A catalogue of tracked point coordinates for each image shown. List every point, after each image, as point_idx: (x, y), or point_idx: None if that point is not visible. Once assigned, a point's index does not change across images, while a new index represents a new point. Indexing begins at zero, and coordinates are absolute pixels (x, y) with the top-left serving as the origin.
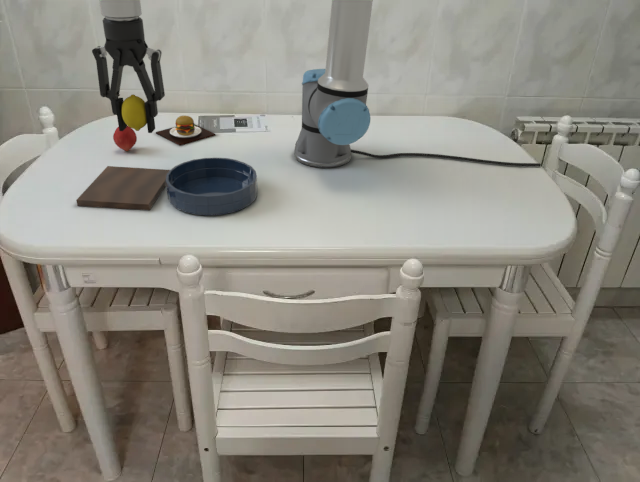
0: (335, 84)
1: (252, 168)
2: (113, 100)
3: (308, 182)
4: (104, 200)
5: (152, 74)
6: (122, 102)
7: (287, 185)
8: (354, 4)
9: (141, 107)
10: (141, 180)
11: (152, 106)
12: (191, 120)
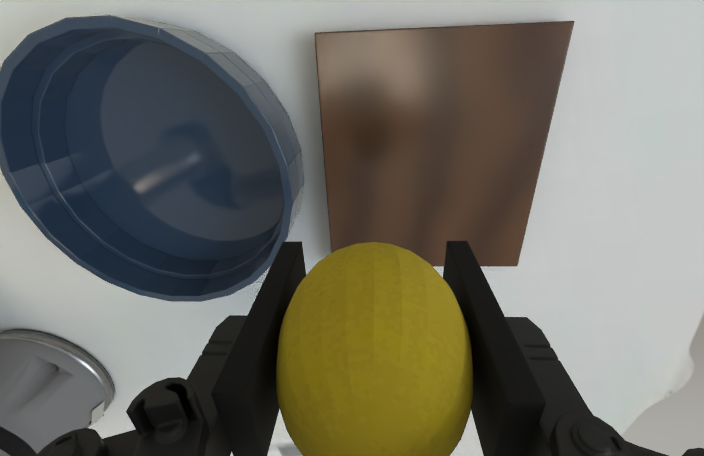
0: None
1: (63, 250)
2: (565, 414)
3: (3, 264)
4: (472, 36)
5: None
6: (482, 423)
7: (38, 244)
8: None
9: (287, 358)
10: (394, 195)
11: (205, 380)
12: None
